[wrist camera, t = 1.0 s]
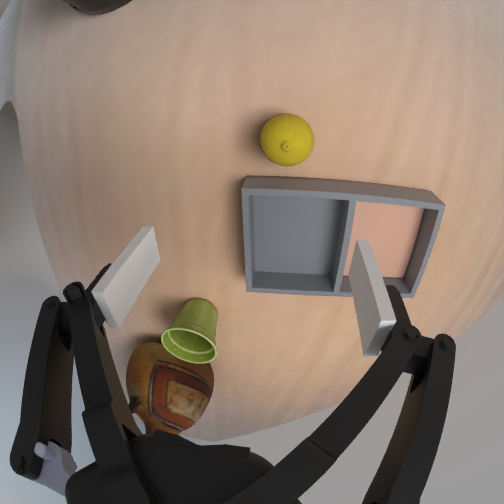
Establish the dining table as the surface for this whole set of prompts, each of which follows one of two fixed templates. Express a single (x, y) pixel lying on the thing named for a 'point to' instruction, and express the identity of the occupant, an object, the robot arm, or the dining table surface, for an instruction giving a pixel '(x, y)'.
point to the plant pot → (193, 332)
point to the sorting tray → (334, 233)
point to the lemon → (287, 139)
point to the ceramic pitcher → (167, 388)
